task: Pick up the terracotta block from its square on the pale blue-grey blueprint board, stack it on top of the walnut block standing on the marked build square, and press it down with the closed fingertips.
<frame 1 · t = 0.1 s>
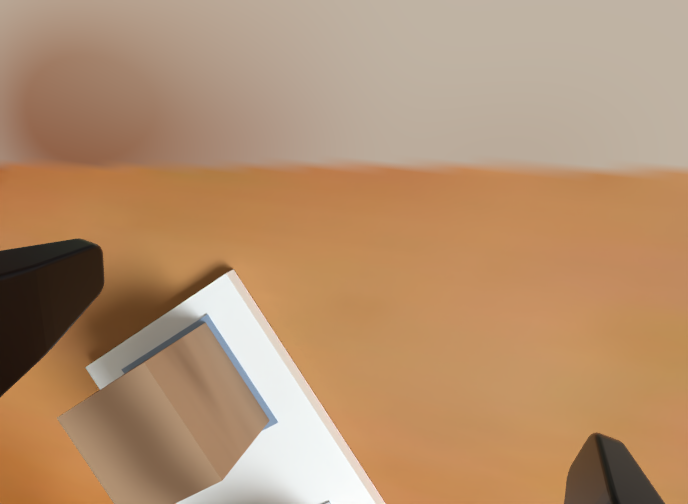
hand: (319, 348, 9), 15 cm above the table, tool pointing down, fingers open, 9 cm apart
walnut block: (196, 395, 28), point 1 cm above the table, touching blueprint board
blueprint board: (260, 471, 29), on the table
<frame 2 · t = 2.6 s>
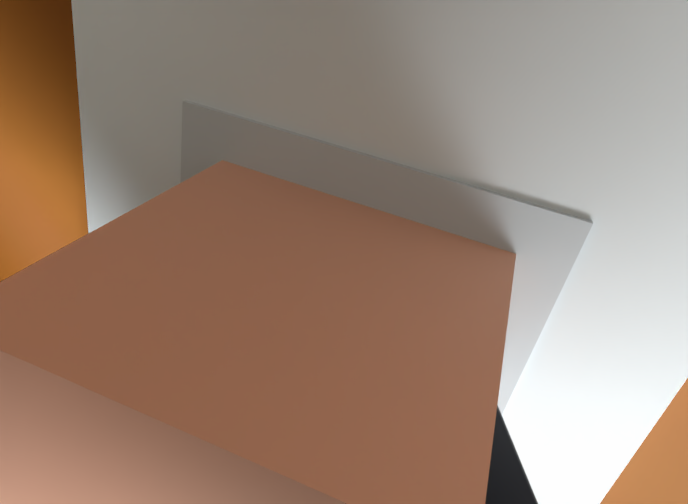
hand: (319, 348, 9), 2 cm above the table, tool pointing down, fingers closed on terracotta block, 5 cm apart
terracotta block: (333, 325, 10), point 1 cm above the table, touching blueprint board, gripper
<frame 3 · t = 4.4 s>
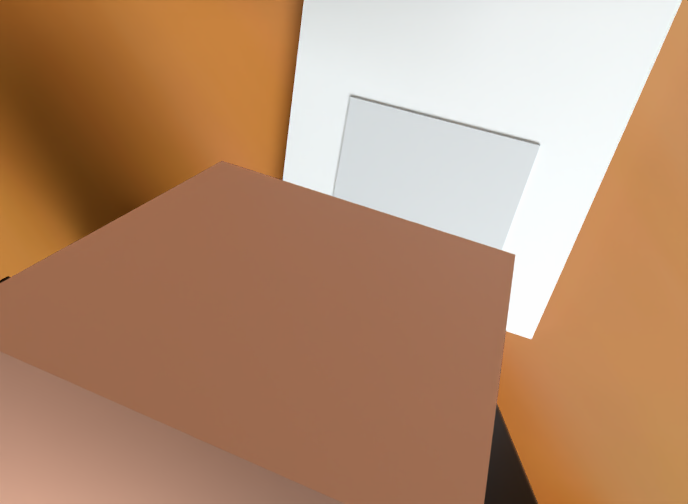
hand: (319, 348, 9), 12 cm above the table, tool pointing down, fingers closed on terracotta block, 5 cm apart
terracotta block: (333, 326, 10), point 11 cm above the table, touching gripper
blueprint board: (467, 33, 17), on the table
when the fingers open (8 cm above the table, at t = 6.1 s): terracotta block drops 1 cm, resting on walnut block.
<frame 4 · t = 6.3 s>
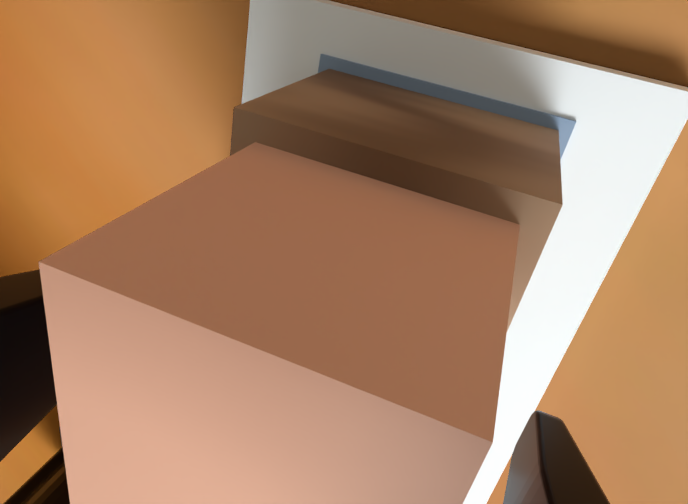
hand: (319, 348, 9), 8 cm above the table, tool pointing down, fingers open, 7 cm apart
terracotta block: (353, 293, 11), point 6 cm above the table, touching walnut block
walnut block: (409, 203, 15), point 1 cm above the table, touching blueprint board, terracotta block
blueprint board: (377, 335, 18), on the table
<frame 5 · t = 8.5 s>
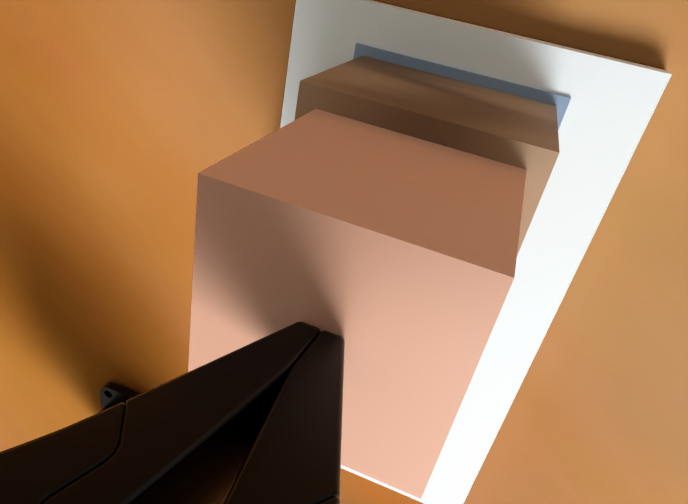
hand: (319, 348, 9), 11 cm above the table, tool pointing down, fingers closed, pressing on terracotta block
terracotta block: (391, 233, 13), point 6 cm above the table, touching gripper, walnut block
walnut block: (429, 171, 17), point 1 cm above the table, touching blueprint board, terracotta block
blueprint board: (397, 292, 21), on the table
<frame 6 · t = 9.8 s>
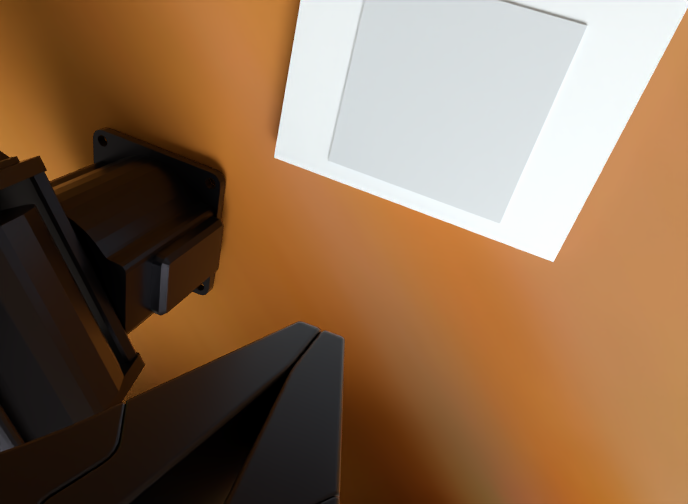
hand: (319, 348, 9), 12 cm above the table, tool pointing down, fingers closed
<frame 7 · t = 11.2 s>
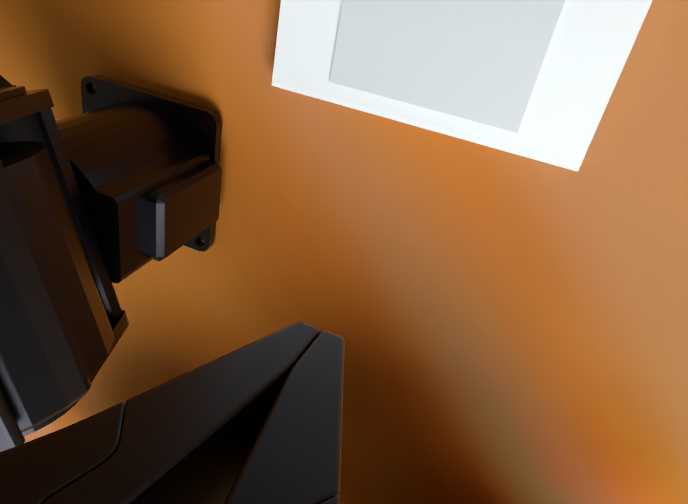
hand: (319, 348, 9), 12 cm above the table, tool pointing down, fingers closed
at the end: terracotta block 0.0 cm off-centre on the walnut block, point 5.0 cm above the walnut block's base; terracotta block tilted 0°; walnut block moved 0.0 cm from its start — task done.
